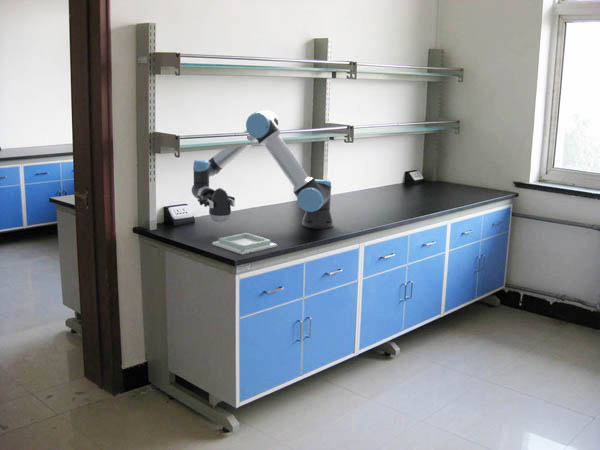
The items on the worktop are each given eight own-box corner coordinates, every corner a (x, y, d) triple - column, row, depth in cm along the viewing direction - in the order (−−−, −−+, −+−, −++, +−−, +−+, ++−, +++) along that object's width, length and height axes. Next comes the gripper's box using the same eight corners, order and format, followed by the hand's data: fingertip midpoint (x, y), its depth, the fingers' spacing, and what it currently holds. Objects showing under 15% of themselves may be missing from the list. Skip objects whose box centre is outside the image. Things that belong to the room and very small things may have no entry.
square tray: (246, 237, 303) (246, 229, 302) (277, 246, 290) (277, 238, 289) (212, 244, 289) (212, 236, 288) (242, 254, 275) (242, 246, 275)
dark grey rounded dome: (230, 218, 311) (230, 186, 307) (231, 223, 301) (231, 190, 297) (208, 218, 309) (208, 186, 305) (209, 223, 299) (209, 190, 296)
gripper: (229, 201, 324) (246, 210, 305) (185, 204, 315) (199, 214, 295) (229, 186, 322) (246, 194, 303) (185, 189, 313) (199, 197, 293)
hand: (223, 204), depth 299 cm, fingers closed on dark grey rounded dome, 9 cm apart
